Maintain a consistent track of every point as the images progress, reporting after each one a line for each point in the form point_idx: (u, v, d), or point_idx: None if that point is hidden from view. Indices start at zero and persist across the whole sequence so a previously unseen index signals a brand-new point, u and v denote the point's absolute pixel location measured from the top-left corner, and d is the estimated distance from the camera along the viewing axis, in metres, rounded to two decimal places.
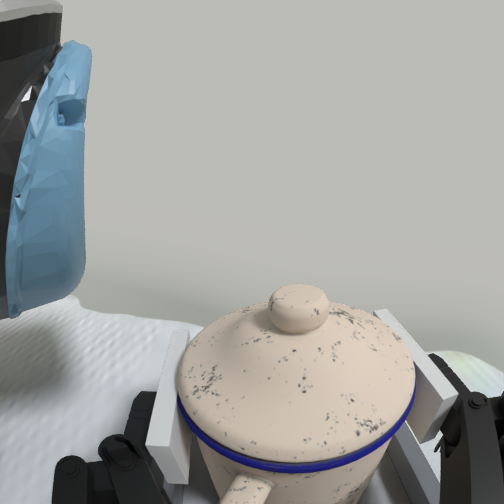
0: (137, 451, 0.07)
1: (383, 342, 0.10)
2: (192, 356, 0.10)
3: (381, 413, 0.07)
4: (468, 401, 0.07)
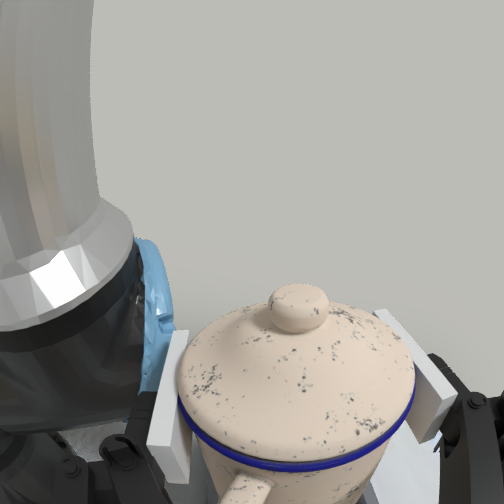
0: (138, 451, 0.07)
1: (383, 342, 0.10)
2: (192, 356, 0.10)
3: (381, 412, 0.07)
4: (467, 401, 0.07)
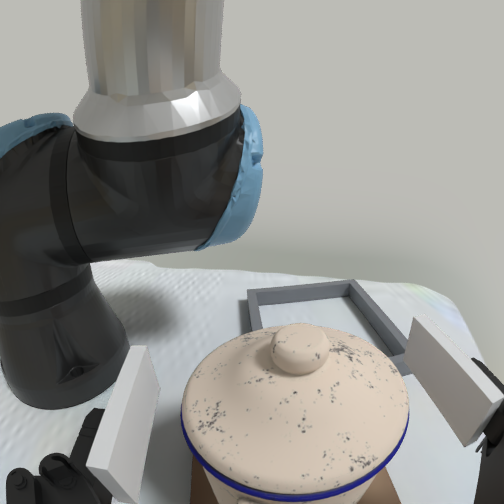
0: (75, 469, 0.06)
1: (380, 377, 0.10)
2: (196, 389, 0.10)
3: (374, 450, 0.07)
4: None
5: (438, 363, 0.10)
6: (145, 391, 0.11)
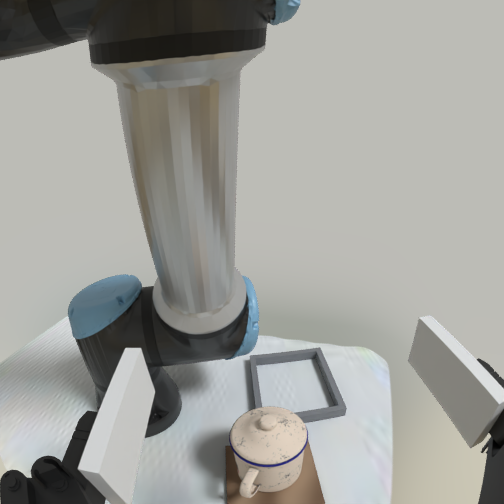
0: (66, 471, 0.05)
1: (296, 431, 0.29)
2: (235, 433, 0.30)
3: (288, 454, 0.26)
4: None
5: (444, 364, 0.10)
6: (139, 394, 0.11)
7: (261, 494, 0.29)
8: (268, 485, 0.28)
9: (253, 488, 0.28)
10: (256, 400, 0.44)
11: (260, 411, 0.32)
